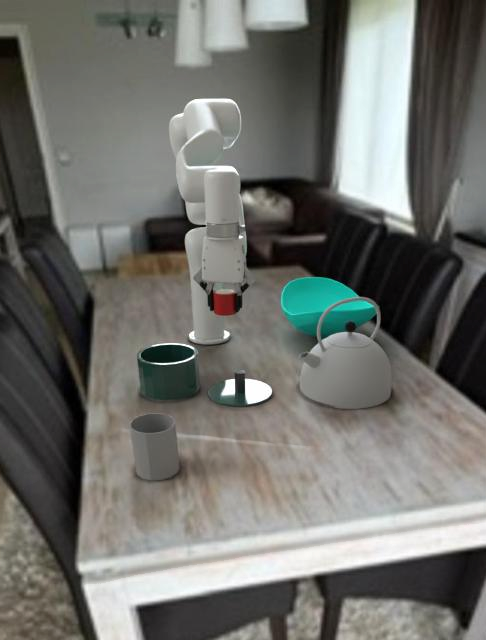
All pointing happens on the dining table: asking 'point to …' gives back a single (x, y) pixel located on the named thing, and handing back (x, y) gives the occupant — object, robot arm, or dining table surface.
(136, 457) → the cup
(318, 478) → the dining table surface
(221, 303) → the red short cylinder
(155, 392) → the pot
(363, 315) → the table top decor
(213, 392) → the pot lid
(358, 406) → the kettle
